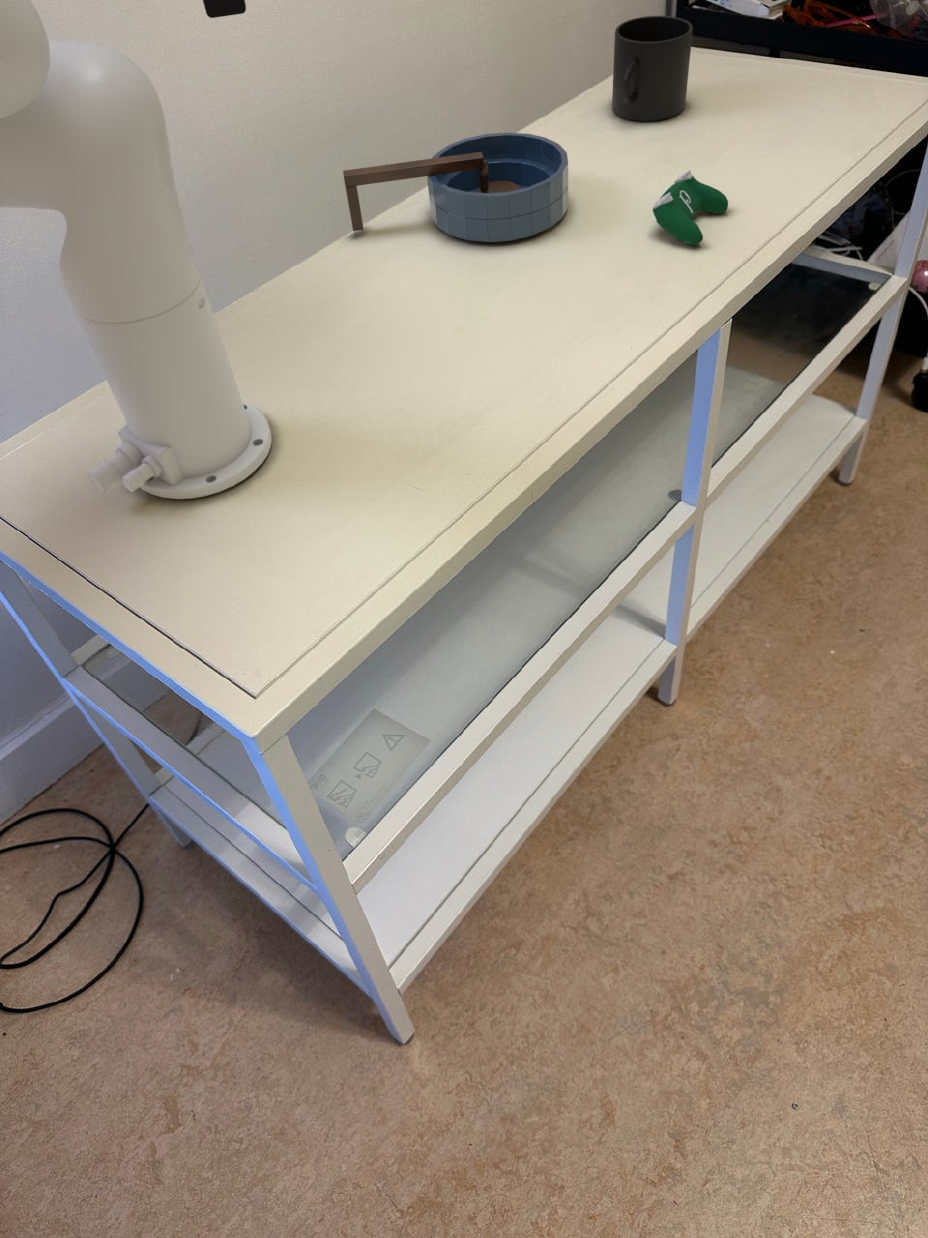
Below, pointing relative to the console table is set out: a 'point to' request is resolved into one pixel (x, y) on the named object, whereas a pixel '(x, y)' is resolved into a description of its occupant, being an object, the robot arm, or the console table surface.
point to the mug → (651, 67)
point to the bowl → (504, 213)
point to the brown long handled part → (418, 170)
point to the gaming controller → (687, 207)
